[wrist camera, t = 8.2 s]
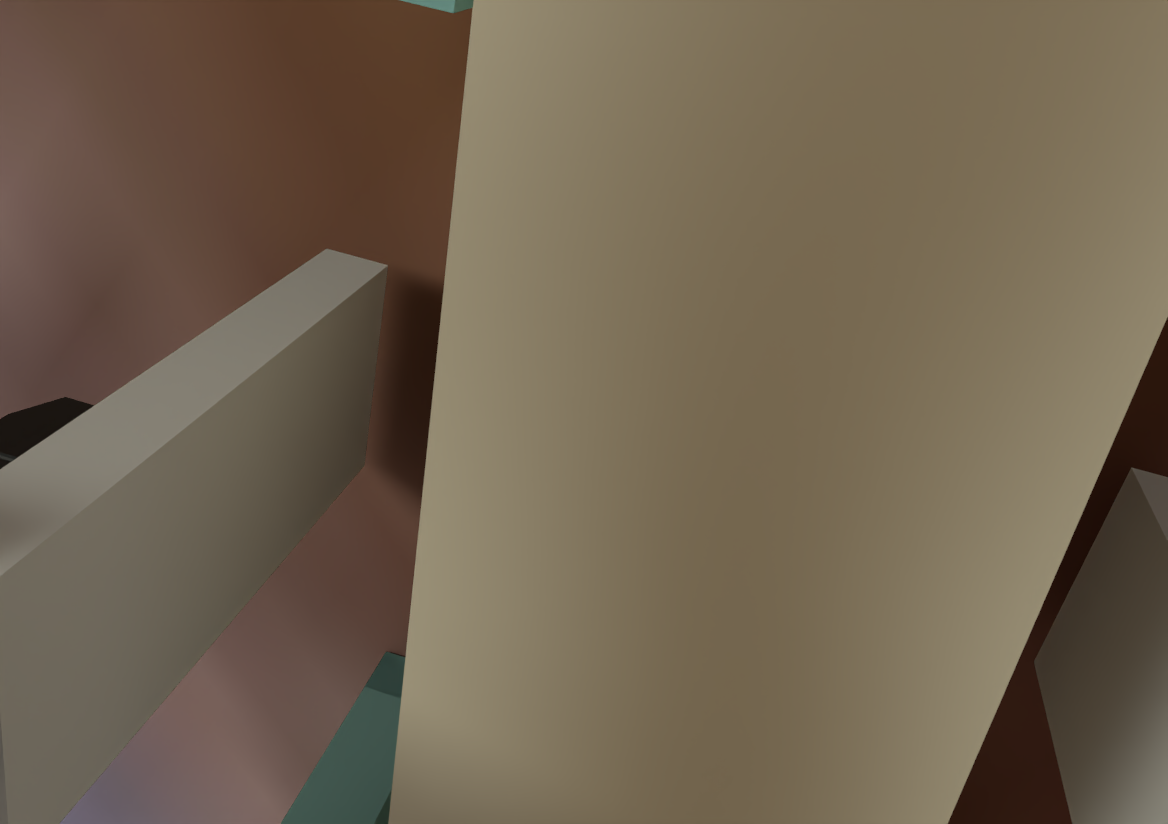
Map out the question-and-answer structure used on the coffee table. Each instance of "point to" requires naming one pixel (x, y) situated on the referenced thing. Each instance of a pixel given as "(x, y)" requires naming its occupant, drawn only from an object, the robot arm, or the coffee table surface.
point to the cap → (357, 758)
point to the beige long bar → (769, 396)
